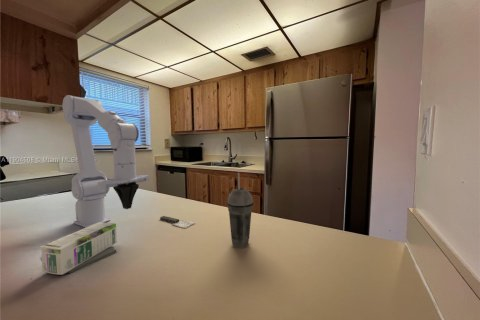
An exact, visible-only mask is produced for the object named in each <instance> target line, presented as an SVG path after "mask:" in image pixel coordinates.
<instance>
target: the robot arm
mask: <svg viewBox="0 0 480 320" xmlns="http://www.w3.org/2000/svg"><path fill="white" fill-rule="evenodd" d="M61 105H62V106H61V107H62V112H63V113H62V114H63V118H64V121H65V123H67V124H69V125H70V127H71V131H72V135H73V136H72V137H73V140H74V141H73V142H74V147H75V152H76V157H77V162H78V167H79V171H78V173H76V174H75V175H74V176H73V177H72V179H71V194H72V196H73V198H75V199H76V200H77V201H76V202H75V205H74V206H75V220H73V224H75V225H78V226H81V227H83V228H87V227H89V226H91V225H94V224H96V223H98V222H103V223H108V222H109V221H111V220H112V219H111V218H108V217H106V207H105V197H107V194H108V193H109V192H110V188H113V190H114V192H115V193H116V194H117V196H118V198H119V200H120V202H121V205H122V209H124V210H129V209H132V205H133V201H134V198H135V195H136V192H137V190H138V189H139V187H140V186H139V183H143V182H150V175H148V174H141V175H137V163H136V162H137V160H136V142H137V141H138V140H139V137H140V130H139V128H138V126H137V125H136V124H135V123H132V122H131V123H127V122H126V121H125V119H123V118H121V117H119V116H118V115H117V112H115V111H111V110H108V111H107V110H106V109H105V108H104V107H103V103H102V101H100V100H99V99H92V98H91V99H90V98H86V97H80V96H75V95H69V94H66V95H65V96H64V98H63V100H62V104H61ZM96 123H97V124H98V125H99V127H101V128H102V129H103V130H104V131H105V132H106V133H107V137H108V140H109V142H110V148H111V149H113V150H112V156H113V170H114V171H113V173H114V178H111V179H108V178H107V175H106V173H105V172H103V171H102V170H99V169H98V165H97V161H96V156H95V152H94V151H95V150H94V145H93V141H92V137H91V136H92V135H91V132H90V126H93V125H96Z"/></svg>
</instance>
